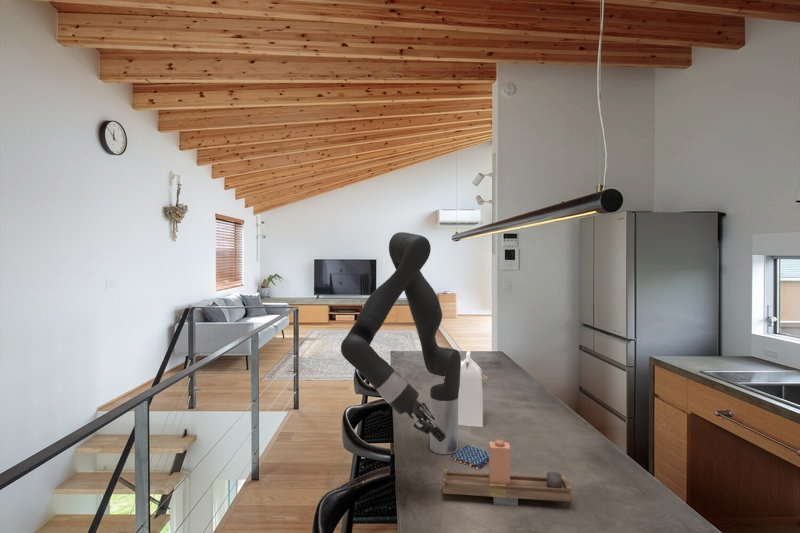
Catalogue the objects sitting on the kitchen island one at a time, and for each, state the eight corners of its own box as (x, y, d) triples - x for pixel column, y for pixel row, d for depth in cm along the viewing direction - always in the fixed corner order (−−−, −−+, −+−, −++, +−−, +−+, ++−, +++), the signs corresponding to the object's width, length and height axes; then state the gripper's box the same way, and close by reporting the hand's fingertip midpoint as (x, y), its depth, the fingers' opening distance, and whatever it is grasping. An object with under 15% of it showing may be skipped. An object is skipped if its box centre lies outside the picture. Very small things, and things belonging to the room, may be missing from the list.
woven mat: (467, 449, 140) (467, 443, 140) (496, 459, 133) (496, 453, 133) (449, 460, 132) (449, 454, 132) (479, 472, 125) (479, 465, 125)
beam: (443, 487, 116) (443, 462, 116) (564, 495, 112) (564, 469, 112) (442, 501, 110) (443, 474, 110) (571, 509, 106) (571, 482, 106)
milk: (482, 426, 158) (483, 357, 157) (451, 424, 160) (452, 355, 159) (483, 414, 169) (483, 350, 169) (454, 412, 172) (454, 348, 171)
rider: (488, 478, 113) (489, 437, 113) (507, 479, 113) (508, 438, 112) (490, 485, 110) (490, 443, 109) (509, 487, 109) (510, 444, 109)
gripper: (404, 390, 106) (453, 440, 106) (409, 374, 120) (453, 419, 119) (383, 410, 107) (432, 460, 106) (390, 392, 120) (434, 437, 120)
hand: (443, 438), depth 113 cm, fingers closed
